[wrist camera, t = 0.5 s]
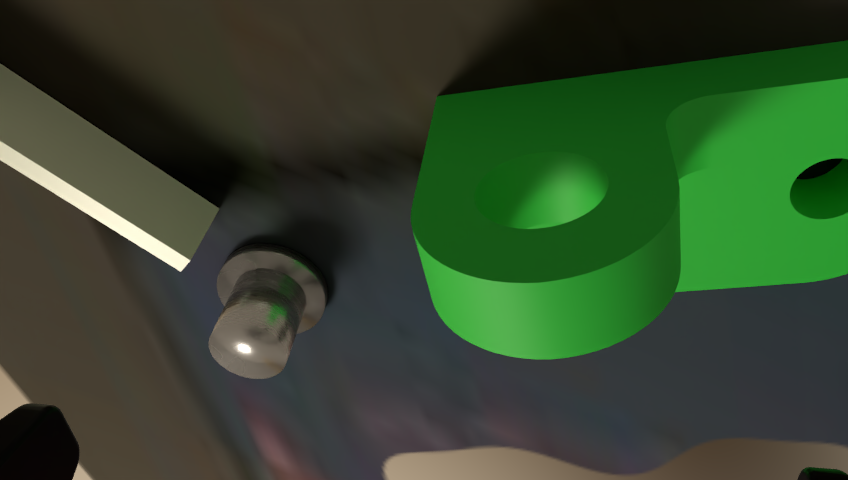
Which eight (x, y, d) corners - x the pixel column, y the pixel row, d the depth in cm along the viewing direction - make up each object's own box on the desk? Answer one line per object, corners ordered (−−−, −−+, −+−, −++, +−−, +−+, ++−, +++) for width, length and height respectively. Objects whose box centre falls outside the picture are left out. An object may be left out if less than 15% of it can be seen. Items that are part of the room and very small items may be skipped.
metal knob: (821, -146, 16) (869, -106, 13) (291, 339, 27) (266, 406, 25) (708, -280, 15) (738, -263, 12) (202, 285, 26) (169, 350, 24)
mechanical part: (476, 262, 24) (452, 483, 18) (438, 92, 21) (391, 293, 14) (899, 227, 21) (1044, 471, 15) (939, 23, 18) (1149, 235, 12)
